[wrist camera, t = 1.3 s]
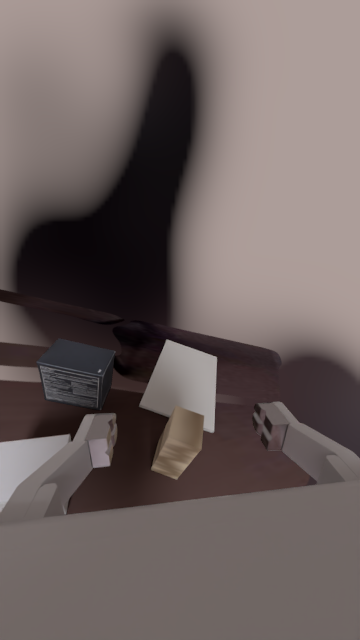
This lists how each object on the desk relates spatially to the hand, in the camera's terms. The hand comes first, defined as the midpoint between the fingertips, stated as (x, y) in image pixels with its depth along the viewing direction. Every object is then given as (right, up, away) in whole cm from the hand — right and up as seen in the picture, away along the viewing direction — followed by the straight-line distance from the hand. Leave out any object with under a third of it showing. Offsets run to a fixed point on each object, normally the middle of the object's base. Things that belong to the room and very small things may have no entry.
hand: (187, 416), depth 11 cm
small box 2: (-21, -9, +27) cm, 35 cm away
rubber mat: (+1, -9, +36) cm, 38 cm away
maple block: (-3, -18, +21) cm, 28 cm away
